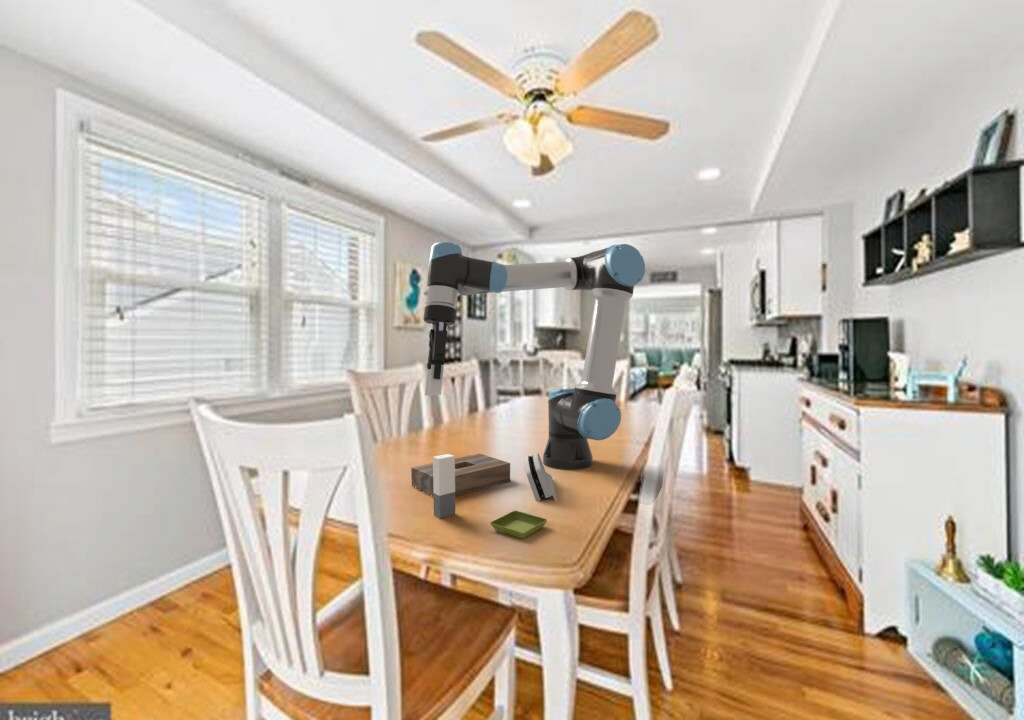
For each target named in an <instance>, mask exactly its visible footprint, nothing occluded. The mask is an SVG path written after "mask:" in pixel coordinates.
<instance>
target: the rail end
mask: <svg viewBox="0 0 1024 720" xmlns="http://www.w3.org/2000/svg"><path fill="white" fill-rule="evenodd" d="M455 458H456V457H455V455H453V454H450V453H446V454H445V453H444V454H441V455H435V456H432V463H433V494H434V497H433V516H434V515H435V516H434V517H436V516H437V517H436V518H438V517H439V518H438V519H443V518H442V517H444V518H446V516H447V517H450V516H453V514H454V515H456V496H455ZM449 515H450V516H449Z"/></svg>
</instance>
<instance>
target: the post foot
mask: <svg viewBox="0 0 1024 720" xmlns="http://www.w3.org/2000/svg"><path fill="white" fill-rule="evenodd" d="M410 469H411V470H410V471H411V487H412V486H414V487H416V488H418V489H417V490H419V489H420V490H419V491H421V490H422V491H421V492H423V491H424V492H423V493H425V492H426V493H425V494H427V493H428V494H427V495H429V494H430V495H429V496H431V495H432V496H431V497H433V496H434V494H433V462H431V463H427V464H421V465H416V466H412V467H411V468H410ZM509 482H510V483H511V462H509V461H504V460H501V459H498V458H495V457H492V456H489V455H485V454H482V453H475V454H470V455H465V456H460V457H455V497H456V495H457V496H460V495H459V494H461V495H464V493H465V494H467V492H468V493H471V491H472V492H475V491H479V489H480V490H483V489H487V488H490V486H491V487H494V486H498V485H502V484H505V483H506V484H507V483H509ZM414 487H413V488H414ZM416 488H415V489H416Z"/></svg>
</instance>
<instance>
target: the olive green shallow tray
mask: <svg viewBox="0 0 1024 720" xmlns="http://www.w3.org/2000/svg"><path fill="white" fill-rule="evenodd" d="M547 522H548V518H544V517H541V516H537V515H533V514H530V513H526V512H523V511H519V510H512V511H510V512H509V513H507V514H504V515H502V516H500V517H498V518H496V519H494V520H492V521H490V522H489V524H490V525H491V527H493V529H494V530H495V531H497V532H499V531H500V533H503V534H506V535H509V536H512V537H515V536H516V538H518V539H522V538H523V539H525V538H527V537H529V536H531V533H532V534H533V533H536V532H537V531H538V529H539V530H541V529H542V528H543V527H544V526H545V524H546V523H547ZM526 536H527V537H526Z"/></svg>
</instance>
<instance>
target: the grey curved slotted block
mask: <svg viewBox="0 0 1024 720" xmlns="http://www.w3.org/2000/svg"><path fill="white" fill-rule="evenodd" d="M523 461H524V463H523V464H524V469H525V470H524V471H525V474H526V477H527V480H528V483H529V485H530V489H531V492H532V494H533V495H532V496H533V497H534V500H535V502H540V501H541V499H543V498H545V499H547V498H550V497H553V500H554V501H555V500H557V499H558V498H557V494H555V493H556V490H555V489H554V488H555V483H554V479H553V476H552V474H551V473H549V472H547V471H546V470H545V466H544V463H543V460H542V459H541V456H540V454H539V453H533V454H532V455H527V456H526V457H524V460H523Z"/></svg>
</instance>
